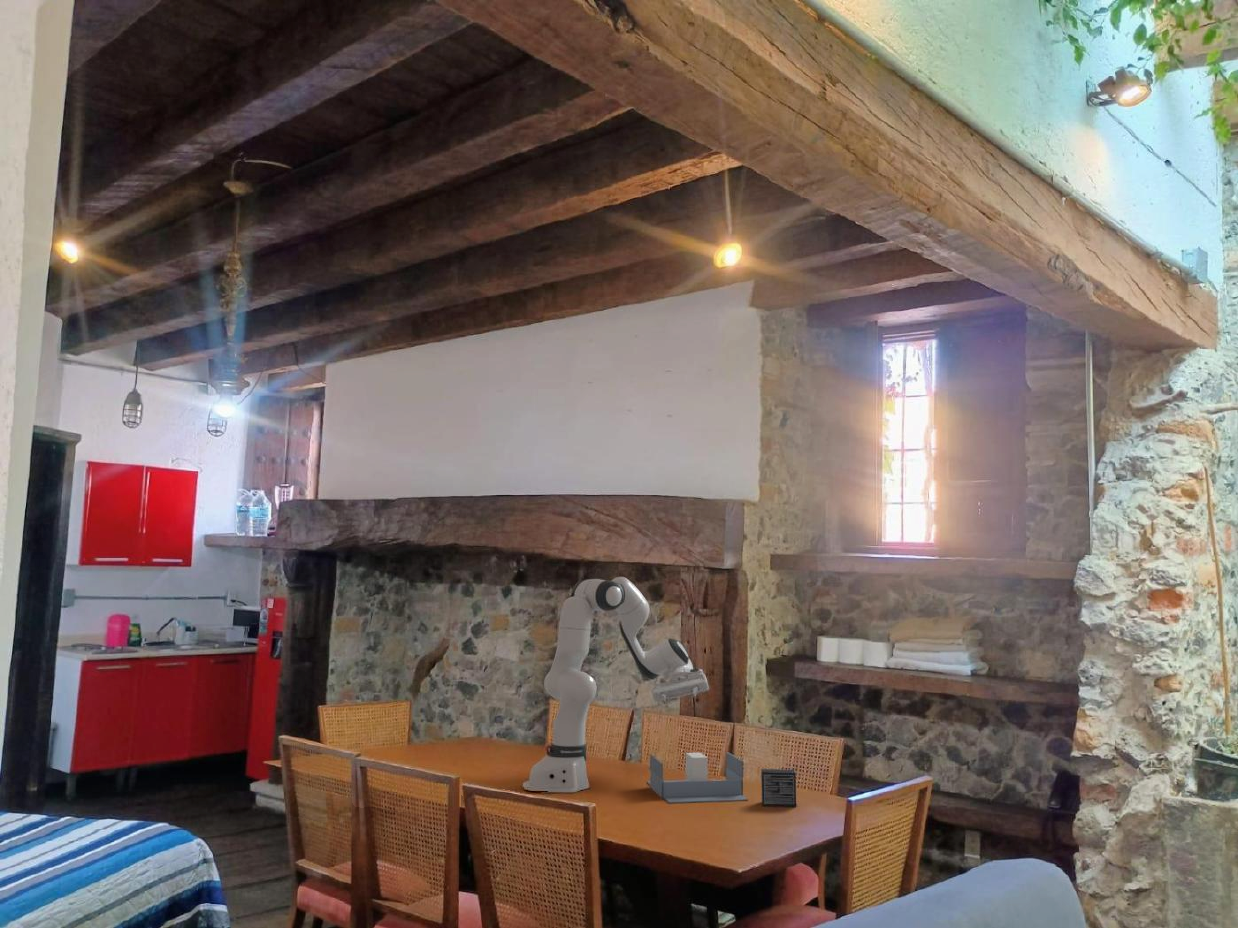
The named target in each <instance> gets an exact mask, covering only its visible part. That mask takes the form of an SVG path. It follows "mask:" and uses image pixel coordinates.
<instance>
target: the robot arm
mask: <svg viewBox="0 0 1238 928" xmlns="http://www.w3.org/2000/svg"><path fill="white" fill-rule="evenodd" d="M614 610H615V611H616V612H617V614H618V615H619V617H620V623H619V630H620V634H621V636H622V638H623V640H624V642H625V645H626V646H627V648H628V651H629V652H630V654H631V656H632V659H633V660H634V662H635V664H636V666H637V669H638V672H639V674H640V675H641V676H642V678H644V679H647V680H655V679H656V678H659V676H661V675H662V674H663V673H665V672H667V671H668V670H669V677H668V678H669V679H668V681H666V682H662V683H659V684H656V685H655V686H654V687H653V689H652V692H651V695H652V699H653V700H654V702H657V703H658V702H661V701H664V703H666V704H667V703H670V701H671V699H676V698H680V697H685V696H689V695H690V697H691V698H694V697H697V695H698V694H699V693H704V692H707V691H709V690H710V687H709V683H708V679H707V677H706V674H705V673H704V671H703V669H701V668H694V665H693V663H692V660H691V659H690V658H689V654H688V651H687V650H686V647H685V646H684V644H683V643H681V641H679V640H677V639H675V638H671V637H669V638H667V639H666V640H664V641H662V642H660V643H659V644H658V645H656V646H654V647H652V648H650V649H649V650H646V651H644V650H643V648H642V646H641V644H640V642H639V640H638V637H637V634H638V632H639V631H640V629H642V627H643V626H644V625H645V624H646V622H647V621H648V619H649V616H650V612H651V611H650V605H649V602H648V600H647V599H646V598H645V596H644V595H643V594H642V592H641V591H640V590H639V589H638V588H637V586H636V585H635V584H634V583H633V582H631V580H629V579H628V578H626V577H625V576H617V577H614V578H613V579H612V580H609V579H606V580H605V579H600V578H591V579H589V578H586V579H581V580H579V581H578V582H576V583H575V584H574V586H573V587H572V590H571V594H570V596H569V597H567V598H566V599H565V601H563V605H562V607H561V613H560V617H559V624H558V633H557V644H556V651H555V655H554V659H553V661H552V664H551V667H550V670H549V671H548V673H547V674H546V676H545V677H544V680H543V685H544V687H543V688H544V689H545V692H546V693H547V694H548V695H549V696H551V697H552V698H553V699H554V700H557V701H559V706H558V711H557V714H556V716H555V717H554V718H553V721H552V743H550V744H549V743H545V744H544V746H543V748H544V750H546V755H545V756H544V757H543V758H542V759H541V760H539V761H538V762H536V763H535V764H534V765H533V766H532V767H531V770H530V772H529V778H528V780H526V781H524V782H523V783H522V788H523V787H524V788H528V789H530V790H543V791H548V792H547V793H569V794H570V793H576V792H579V791H581V790H582V791H583V790H586V789H588V788H590V783H589V779H588V778H589V777H588V775H587V774H588V773H587V764H586V763H587V757H588V754H587V753H588V750H587V749H588V748H587V744H586V725H587V723H586V722H587V716H588V711H589V709H590V705H591V702H592V701H593V700H594V698H595V696H596V694H597V689H598V687H597V682H596V680H595V678H593V677H592V676H591V675H589V674H588V673H587V672H585V671H581V669H582V665H583V662H584V661H585V658H586V657H587V656H588V654H589V652H590V640H591V631H592V630H591V629H592V618H593V617H592V616H593V615H594V613H595V612H610V611H614Z"/></svg>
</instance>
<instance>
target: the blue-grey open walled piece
mask: <svg viewBox="0 0 1238 928" xmlns="http://www.w3.org/2000/svg"><path fill="white" fill-rule="evenodd" d="M725 754H726V755H725V756H726V762H725V763H726V766H725V779H720V780H715V779H716V778H715V779H714V778H712V779H711V778H710V779H709V778H708V780H713V781H686V779H683V780H682V779H679V780H677V779H676V780H665V779H664V763H663V762H662V761H661V760H660V759H659V758H657V757H656V756H654V755H653V754H652V753H650V754H649V770H650V771H649V772H650V773H649V774H650V775H649V776H650V777H649V778H650V780H648V781H646V783H647V784H648V785H649V787H650V789H651V788H652V789H651V790H652V791H653V792H655V794H657V795H658V796H659V798H660V799H664V800H665V801H666V802H667V803H668V804H690V803H692V804H693V803H714V802H715V803H718V802H721V803H722V802H746V800H748V801H749V799H748V798H747V797H745V796H744V760H742V759H740V758H739V757H737V756H736V755H734V754H732V753H730V752H728V751H726V753H725Z"/></svg>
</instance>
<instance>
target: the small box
mask: <svg viewBox="0 0 1238 928" xmlns="http://www.w3.org/2000/svg"><path fill="white" fill-rule="evenodd" d="M760 775H761V776H760V777H761V805H762V807H777V806H780V807H785V808H796V807H797V806H798V804H797V779H796V775H797V773H796V771H795V769H790V768H789V769H782V768H781V769H780V768H779V769H778V768H761V774H760ZM780 807H779V808H780Z"/></svg>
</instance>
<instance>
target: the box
mask: <svg viewBox="0 0 1238 928" xmlns="http://www.w3.org/2000/svg"><path fill="white" fill-rule="evenodd" d="M708 760H709V759H708V756H706V755H705V754H703V753H701V752H685V780H686V781H708V779H709V778H708V776H709V775H708V774H709V773H708V771H709V769H708V767H709V766H708V762H709V761H708Z"/></svg>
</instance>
